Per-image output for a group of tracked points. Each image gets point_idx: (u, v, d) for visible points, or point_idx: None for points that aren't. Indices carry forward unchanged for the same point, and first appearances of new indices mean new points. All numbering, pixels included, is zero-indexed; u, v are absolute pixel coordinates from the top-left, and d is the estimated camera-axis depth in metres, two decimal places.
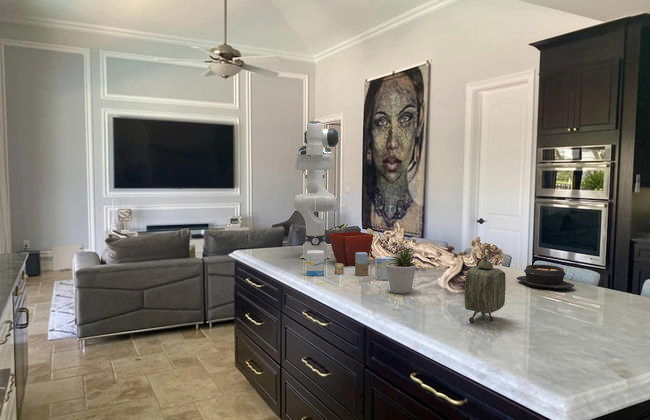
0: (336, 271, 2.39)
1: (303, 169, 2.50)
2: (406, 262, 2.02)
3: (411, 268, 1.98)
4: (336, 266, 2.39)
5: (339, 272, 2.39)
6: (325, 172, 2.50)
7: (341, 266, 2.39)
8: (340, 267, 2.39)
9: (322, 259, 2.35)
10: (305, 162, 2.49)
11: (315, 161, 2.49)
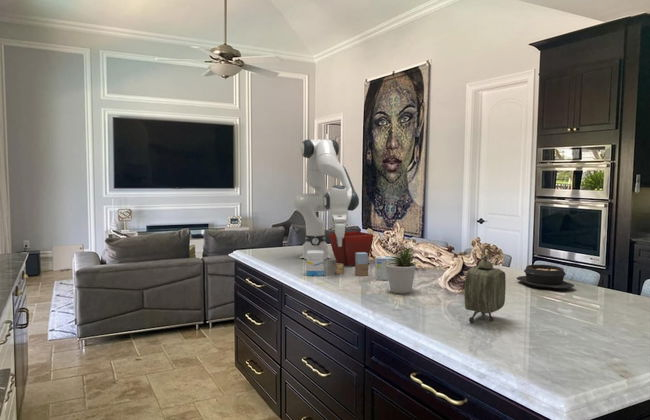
0: (336, 271, 2.39)
1: None
2: (406, 262, 2.02)
3: (411, 268, 1.98)
4: (336, 266, 2.39)
5: (339, 272, 2.39)
6: None
7: (341, 266, 2.39)
8: (340, 267, 2.39)
9: (322, 259, 2.35)
10: None
11: None
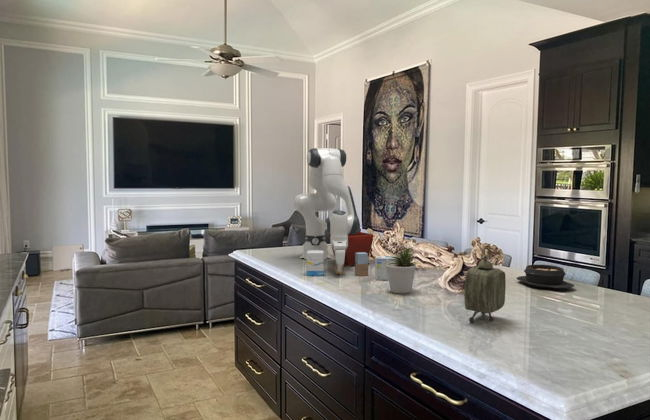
0: (336, 271, 2.39)
1: None
2: (406, 262, 2.02)
3: (411, 268, 1.98)
4: (336, 266, 2.39)
5: (339, 272, 2.39)
6: None
7: None
8: None
9: (322, 259, 2.35)
10: None
11: None
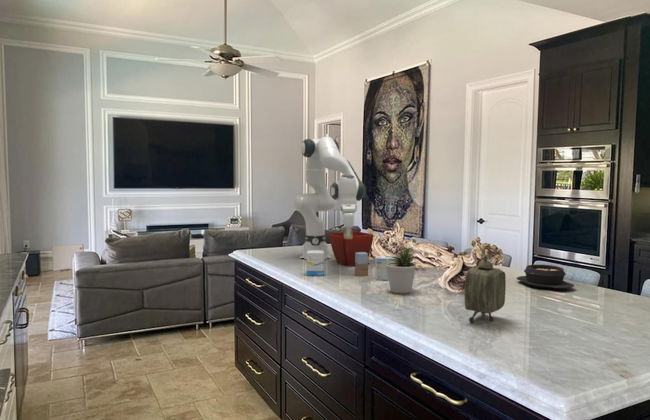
0: (345, 236, 2.36)
1: None
2: (406, 262, 2.02)
3: (411, 268, 1.98)
4: (345, 231, 2.36)
5: (347, 236, 2.36)
6: None
7: None
8: None
9: (322, 259, 2.35)
10: None
11: None
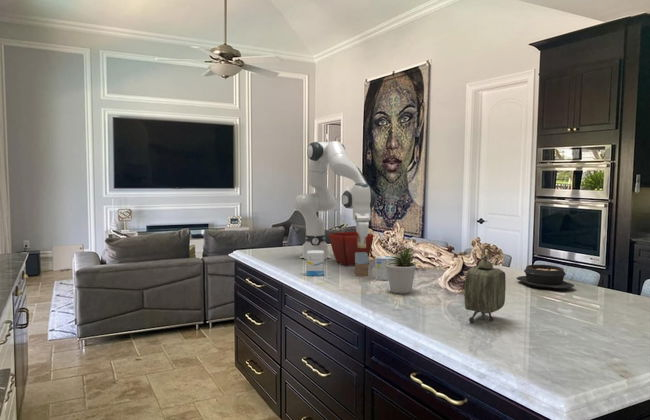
0: (359, 244, 2.35)
1: None
2: (406, 262, 2.02)
3: (411, 268, 1.98)
4: (359, 239, 2.35)
5: (361, 245, 2.35)
6: None
7: None
8: None
9: (322, 259, 2.35)
10: None
11: None
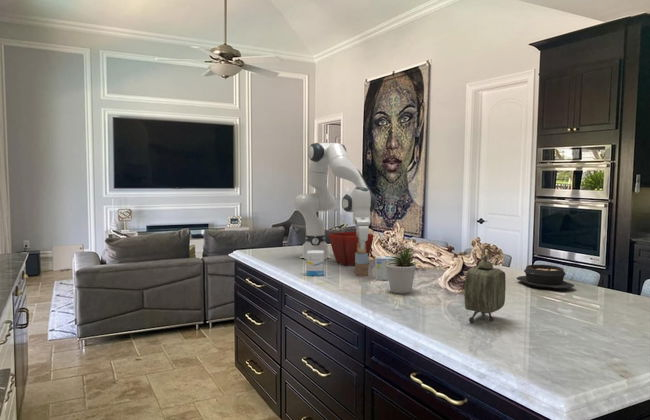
0: (358, 250, 2.36)
1: None
2: (406, 262, 2.02)
3: (411, 268, 1.98)
4: (358, 245, 2.36)
5: (361, 251, 2.35)
6: None
7: None
8: None
9: (322, 259, 2.35)
10: None
11: None
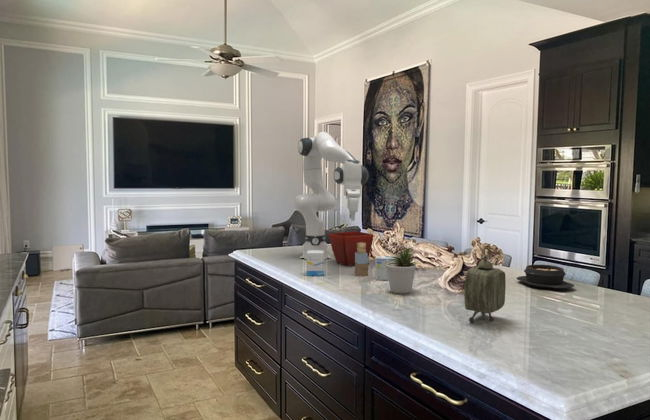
0: (358, 250, 2.36)
1: None
2: (406, 262, 2.02)
3: (411, 268, 1.98)
4: (358, 245, 2.36)
5: (361, 251, 2.35)
6: None
7: (363, 245, 2.35)
8: (362, 246, 2.35)
9: (322, 259, 2.35)
10: None
11: None
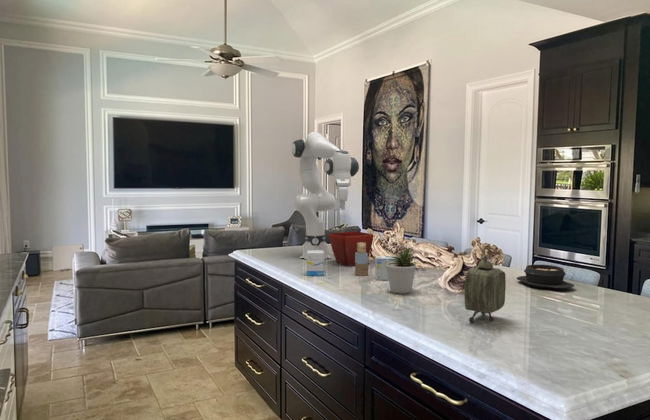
0: (358, 250, 2.36)
1: (345, 200, 2.39)
2: (406, 262, 2.02)
3: (411, 268, 1.98)
4: (358, 245, 2.36)
5: (361, 251, 2.35)
6: None
7: (363, 245, 2.35)
8: (362, 246, 2.35)
9: (322, 259, 2.35)
10: None
11: None
